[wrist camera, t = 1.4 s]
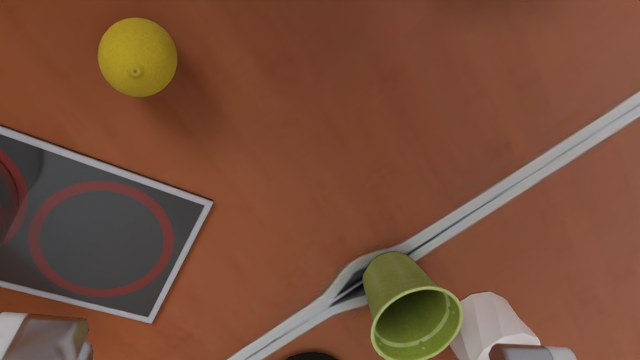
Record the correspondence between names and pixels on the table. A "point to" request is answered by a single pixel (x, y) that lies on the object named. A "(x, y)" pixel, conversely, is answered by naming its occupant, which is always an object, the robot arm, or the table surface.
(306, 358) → the coffee jar
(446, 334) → the plant pot
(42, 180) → the hob
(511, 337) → the vase
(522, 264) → the table surface
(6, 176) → the steel pot
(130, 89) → the lemon
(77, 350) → the robot arm
